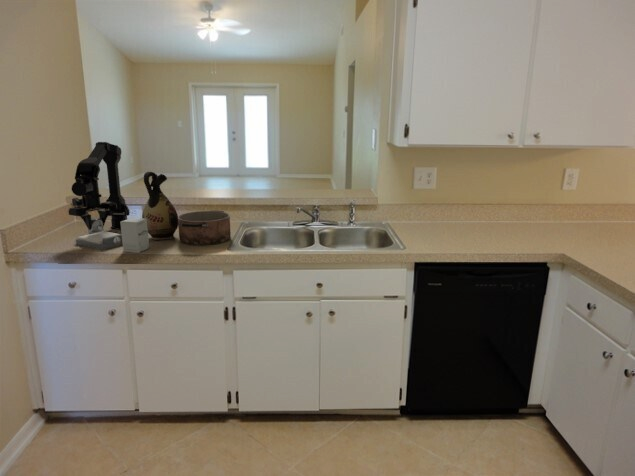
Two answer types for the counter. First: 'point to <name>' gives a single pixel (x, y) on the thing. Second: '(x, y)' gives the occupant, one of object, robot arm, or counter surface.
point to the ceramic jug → (159, 209)
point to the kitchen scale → (100, 240)
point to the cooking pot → (204, 227)
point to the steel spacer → (96, 225)
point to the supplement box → (134, 235)
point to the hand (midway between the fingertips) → (96, 228)
